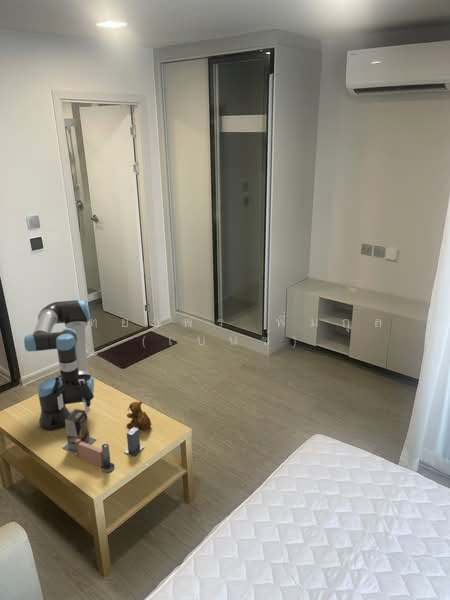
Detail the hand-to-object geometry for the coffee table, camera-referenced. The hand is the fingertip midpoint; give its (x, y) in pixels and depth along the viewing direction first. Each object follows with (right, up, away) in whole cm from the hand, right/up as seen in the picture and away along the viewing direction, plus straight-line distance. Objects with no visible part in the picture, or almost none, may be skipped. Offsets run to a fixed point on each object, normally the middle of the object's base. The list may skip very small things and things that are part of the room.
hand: (74, 410), depth 205 cm
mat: (-1, -19, +10) cm, 21 cm away
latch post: (+26, -20, +5) cm, 34 cm away
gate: (+8, -22, -2) cm, 24 cm away
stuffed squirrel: (+26, -14, +23) cm, 38 cm away
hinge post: (+17, -24, -6) cm, 30 cm away
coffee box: (-1, -18, +10) cm, 21 cm away
